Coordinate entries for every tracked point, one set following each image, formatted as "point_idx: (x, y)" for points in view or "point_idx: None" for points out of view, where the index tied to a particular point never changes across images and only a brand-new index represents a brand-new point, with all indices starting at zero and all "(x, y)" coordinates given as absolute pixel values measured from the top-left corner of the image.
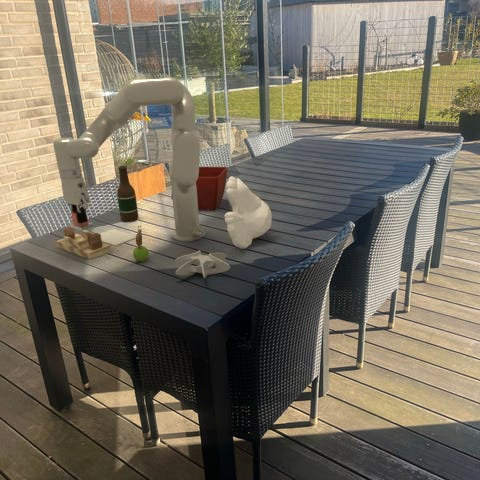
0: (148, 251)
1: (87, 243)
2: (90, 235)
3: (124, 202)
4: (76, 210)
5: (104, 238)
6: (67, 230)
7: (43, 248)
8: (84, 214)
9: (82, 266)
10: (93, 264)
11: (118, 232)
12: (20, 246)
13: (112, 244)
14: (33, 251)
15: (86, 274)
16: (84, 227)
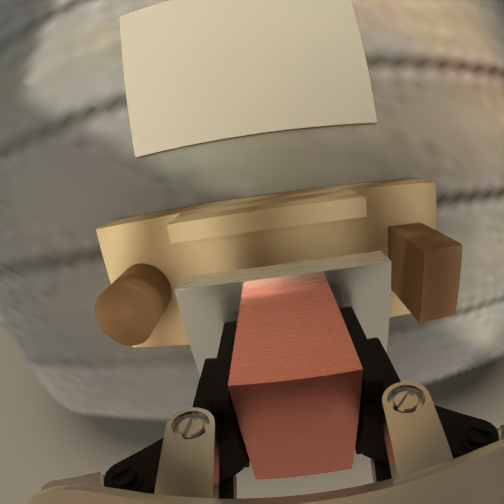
0: None
1: (302, 256)
2: (425, 302)
3: None
4: (252, 441)
5: (222, 105)
6: (146, 335)
7: (122, 368)
8: (395, 381)
9: (436, 339)
10: (457, 303)
11: (195, 10)
12: (61, 395)
13: (353, 123)
14: (132, 399)
15: (486, 347)
16: (385, 339)
